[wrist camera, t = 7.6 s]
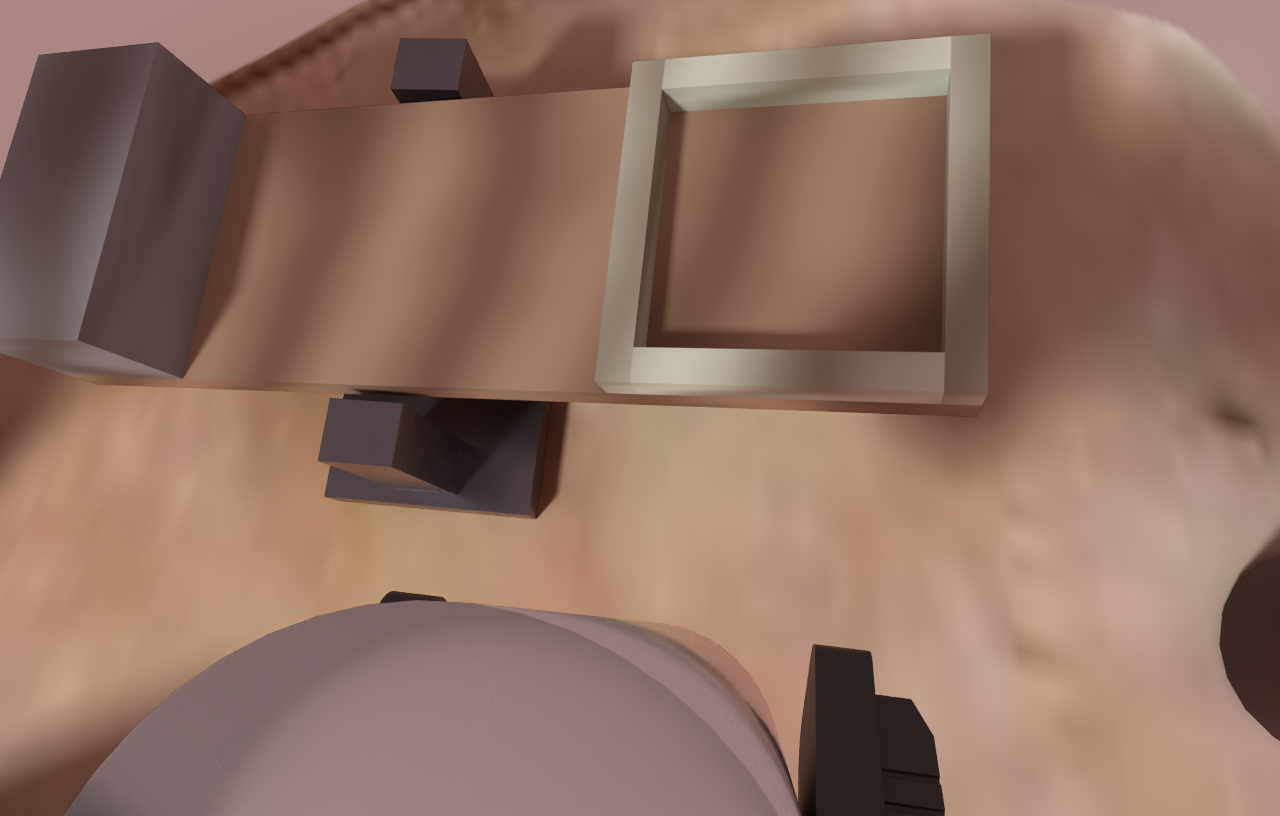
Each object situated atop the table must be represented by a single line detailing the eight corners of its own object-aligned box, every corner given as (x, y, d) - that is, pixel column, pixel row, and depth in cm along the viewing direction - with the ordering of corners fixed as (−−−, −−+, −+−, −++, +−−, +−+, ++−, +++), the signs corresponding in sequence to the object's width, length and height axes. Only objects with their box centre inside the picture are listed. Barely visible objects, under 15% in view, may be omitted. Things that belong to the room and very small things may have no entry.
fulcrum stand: (339, 500, 33) (230, 469, 26) (407, 137, 37) (328, 25, 30) (536, 519, 32) (477, 491, 25) (585, 142, 36) (547, 27, 29)
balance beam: (97, 384, 31) (-49, 337, 26) (161, 140, 33) (38, 54, 28) (976, 416, 22) (1005, 356, 17) (979, 87, 25) (1006, -47, 20)
